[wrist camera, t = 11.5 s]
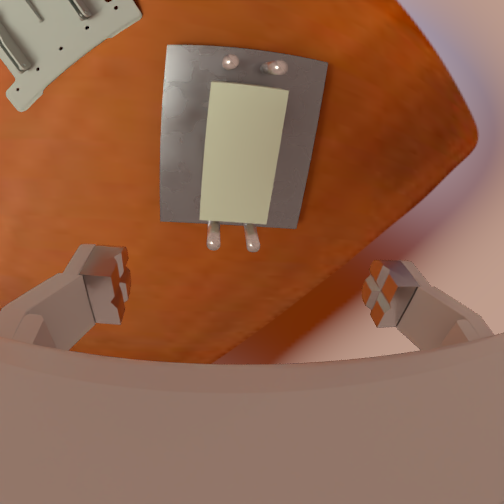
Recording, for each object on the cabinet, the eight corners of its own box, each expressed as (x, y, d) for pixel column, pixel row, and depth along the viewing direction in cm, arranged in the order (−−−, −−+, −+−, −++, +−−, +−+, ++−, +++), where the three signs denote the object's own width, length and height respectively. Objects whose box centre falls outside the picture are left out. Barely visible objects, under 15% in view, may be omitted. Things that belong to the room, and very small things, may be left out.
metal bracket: (-50, 36, 9) (73, -83, 7) (-20, 24, 13) (90, -72, 11) (20, 127, 20) (147, 27, 18) (40, 105, 24) (152, 22, 22)
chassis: (293, 221, 31) (311, 265, 25) (162, 214, 29) (148, 258, 23) (322, 62, 22) (358, 62, 16) (170, 46, 20) (151, 37, 14)
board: (261, 206, 26) (266, 224, 23) (201, 202, 25) (199, 220, 22) (279, 88, 20) (289, 90, 18) (212, 80, 19) (211, 81, 17)
